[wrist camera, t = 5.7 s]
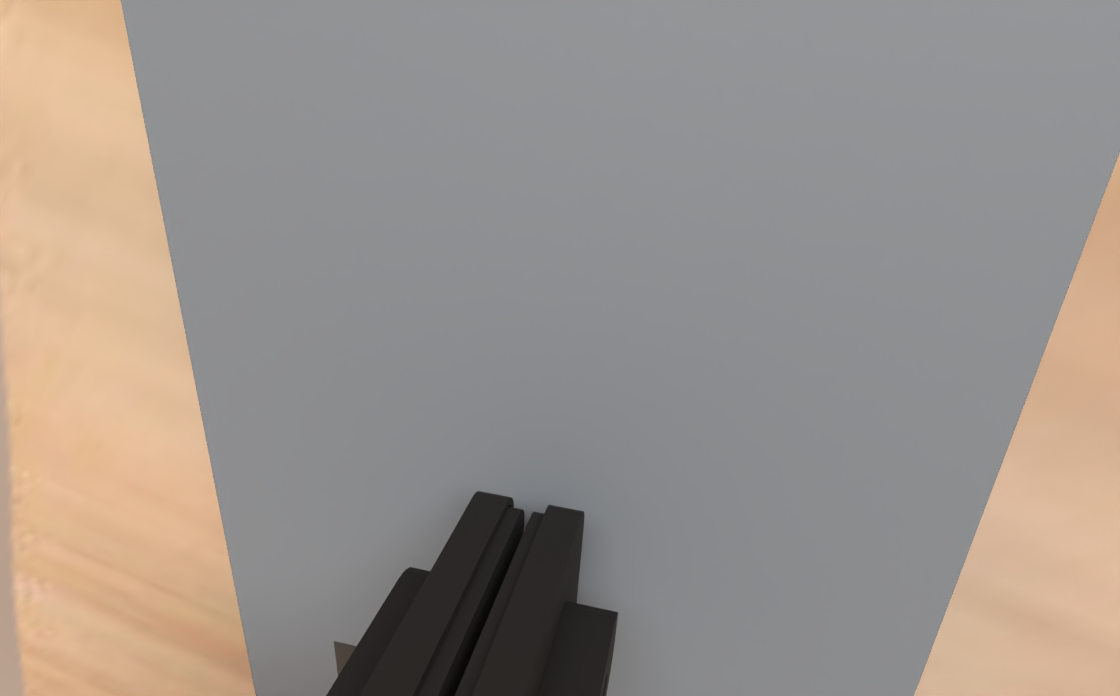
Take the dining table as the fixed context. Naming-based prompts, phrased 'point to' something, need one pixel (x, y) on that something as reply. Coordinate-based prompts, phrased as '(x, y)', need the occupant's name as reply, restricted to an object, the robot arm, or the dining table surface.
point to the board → (624, 302)
